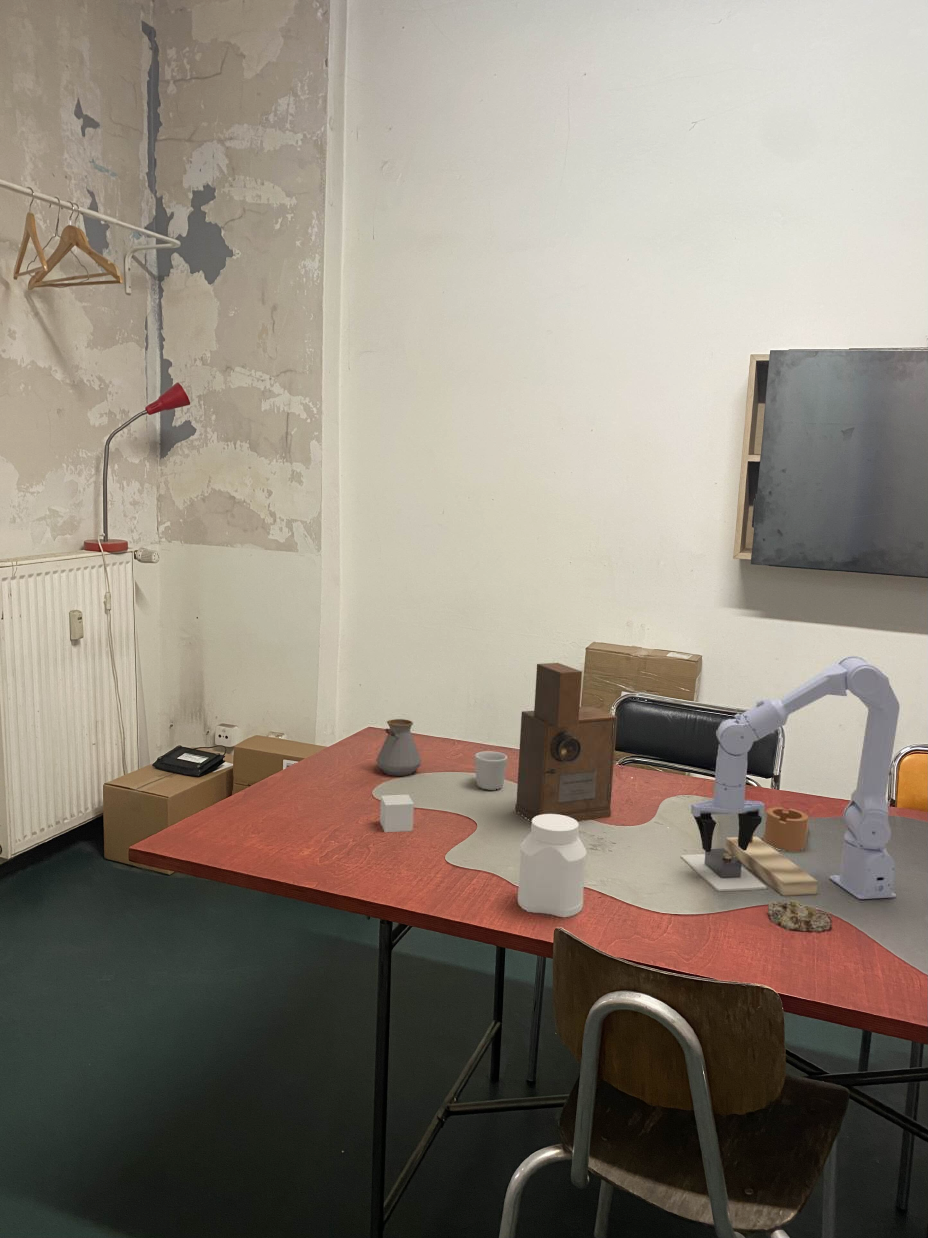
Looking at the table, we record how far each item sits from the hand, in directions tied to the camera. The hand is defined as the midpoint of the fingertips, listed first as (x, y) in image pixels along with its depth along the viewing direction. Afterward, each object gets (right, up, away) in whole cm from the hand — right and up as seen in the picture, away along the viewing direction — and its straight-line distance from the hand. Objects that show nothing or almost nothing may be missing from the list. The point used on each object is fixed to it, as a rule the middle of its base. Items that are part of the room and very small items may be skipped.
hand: (724, 849), depth 177 cm
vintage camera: (-29, 0, +28) cm, 40 cm away
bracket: (+20, -3, +22) cm, 29 cm away
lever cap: (0, -4, +1) cm, 4 cm away
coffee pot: (-68, +5, +50) cm, 84 cm away
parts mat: (0, -5, +1) cm, 5 cm away
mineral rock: (+7, -8, -19) cm, 22 cm away
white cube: (-65, 0, +17) cm, 67 cm away
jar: (-36, -6, -16) cm, 39 cm away
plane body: (+9, -5, +3) cm, 11 cm away
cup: (-45, +4, +47) cm, 65 cm away
